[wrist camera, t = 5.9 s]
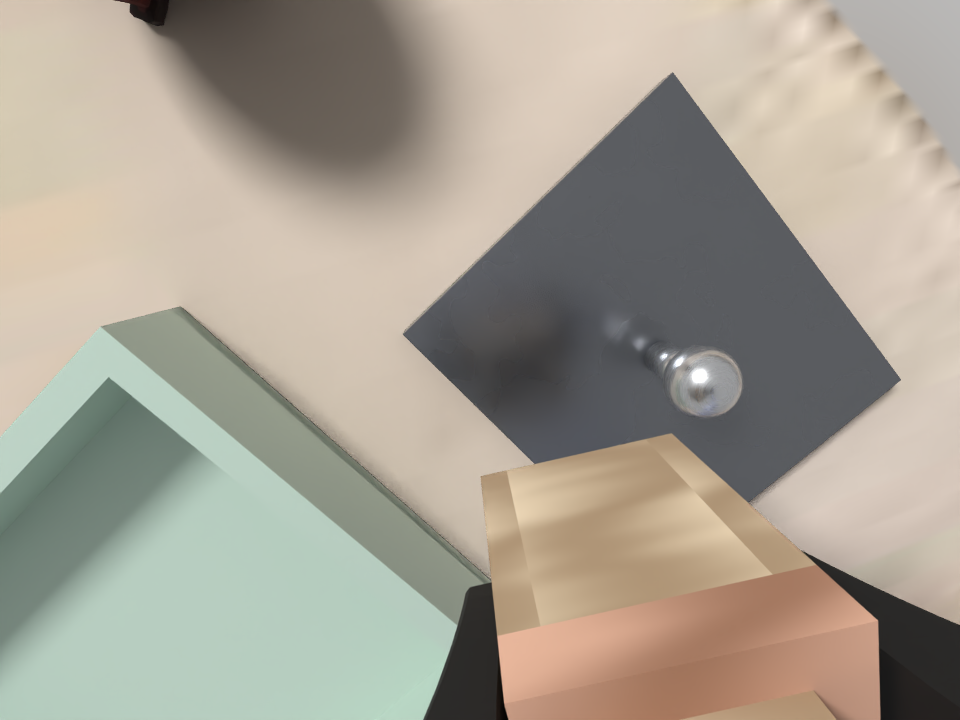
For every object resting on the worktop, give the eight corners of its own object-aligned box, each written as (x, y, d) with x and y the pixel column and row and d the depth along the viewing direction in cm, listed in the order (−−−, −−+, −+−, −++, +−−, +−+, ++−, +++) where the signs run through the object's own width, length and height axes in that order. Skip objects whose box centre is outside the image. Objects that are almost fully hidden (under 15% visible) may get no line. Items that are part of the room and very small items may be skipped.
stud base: (883, 373, 19) (1024, 419, 14) (645, 566, 21) (701, 664, 16) (662, 80, 16) (747, 15, 11) (405, 330, 18) (386, 364, 13)
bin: (525, 610, 21) (541, 695, 17) (190, 887, 24) (139, 1013, 20) (180, 306, 17) (100, 326, 13) (-167, 678, 20) (-316, 784, 16)
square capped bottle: (671, 433, 11) (1096, 818, 4) (693, 595, 12) (1057, 1144, 5) (480, 476, 11) (528, 943, 4) (519, 633, 12) (615, 1239, 5)
